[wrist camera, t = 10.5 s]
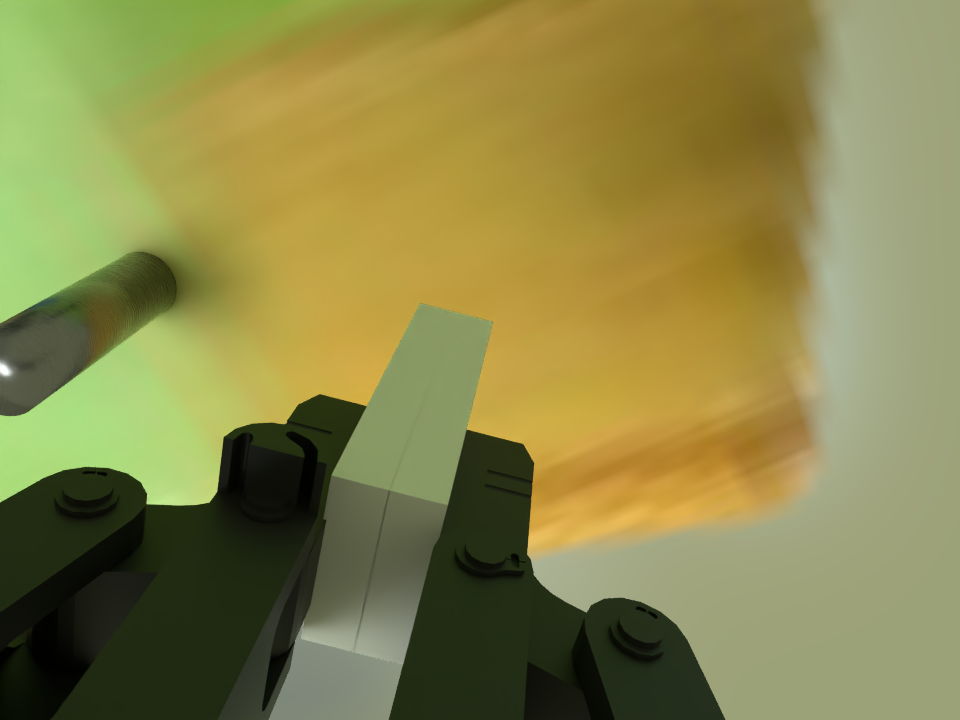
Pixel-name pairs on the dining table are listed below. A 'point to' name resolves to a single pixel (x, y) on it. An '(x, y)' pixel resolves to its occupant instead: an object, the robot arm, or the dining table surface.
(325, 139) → the dining table surface
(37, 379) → the post
